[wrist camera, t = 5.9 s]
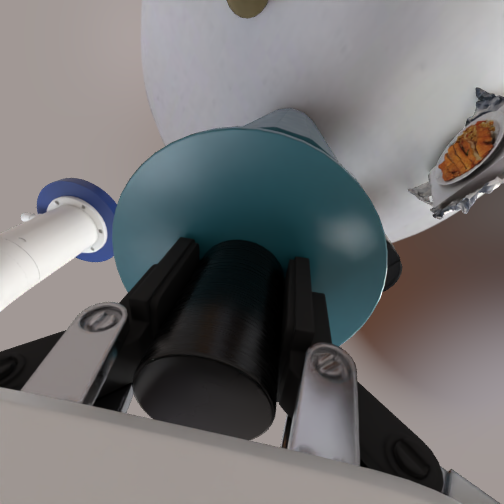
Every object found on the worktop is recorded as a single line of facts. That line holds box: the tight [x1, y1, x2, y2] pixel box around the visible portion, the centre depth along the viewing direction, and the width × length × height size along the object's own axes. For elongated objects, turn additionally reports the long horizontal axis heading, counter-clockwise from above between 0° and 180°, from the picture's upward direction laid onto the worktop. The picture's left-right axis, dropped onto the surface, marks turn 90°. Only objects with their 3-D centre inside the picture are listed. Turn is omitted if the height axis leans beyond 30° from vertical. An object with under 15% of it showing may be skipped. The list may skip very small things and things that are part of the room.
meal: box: [408, 88, 504, 219], centre depth 34 cm, size 15×4×13 cm, turn 157°
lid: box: [112, 126, 388, 440], centre depth 9 cm, size 11×11×7 cm
